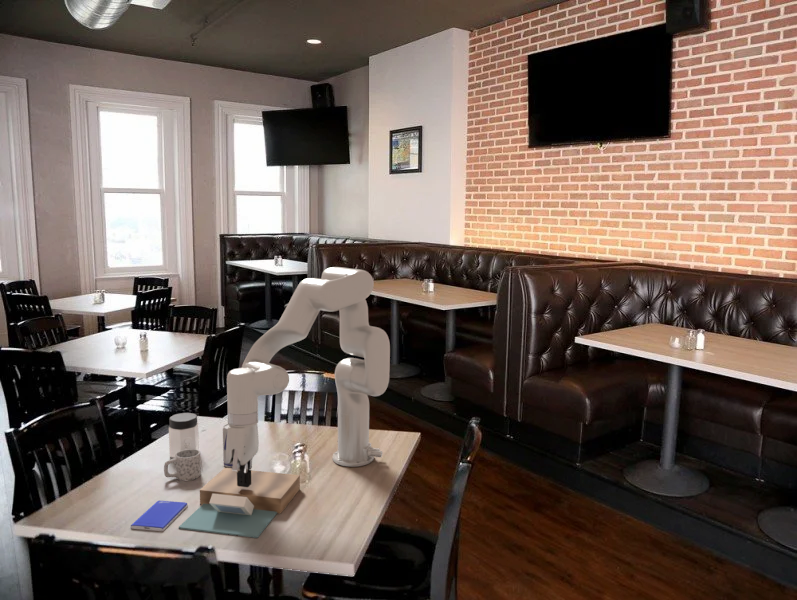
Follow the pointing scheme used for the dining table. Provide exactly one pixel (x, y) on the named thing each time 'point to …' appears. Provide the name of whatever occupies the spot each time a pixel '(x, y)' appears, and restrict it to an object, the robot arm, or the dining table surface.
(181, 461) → the mug
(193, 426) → the jar
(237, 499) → the ivory rectangular block
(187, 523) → the mat
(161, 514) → the hard drive
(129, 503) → the dining table surface
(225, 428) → the energy drink
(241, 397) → the robot arm
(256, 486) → the brown wooden block
